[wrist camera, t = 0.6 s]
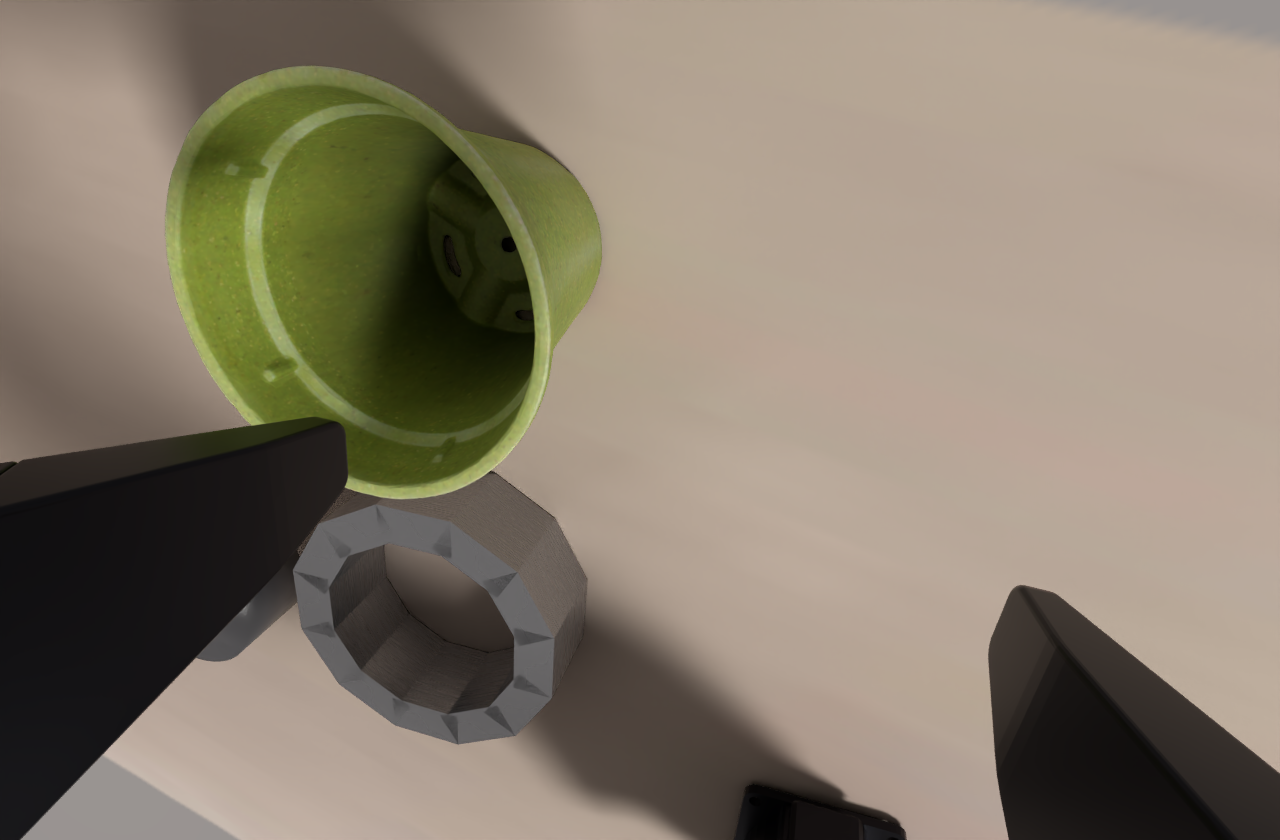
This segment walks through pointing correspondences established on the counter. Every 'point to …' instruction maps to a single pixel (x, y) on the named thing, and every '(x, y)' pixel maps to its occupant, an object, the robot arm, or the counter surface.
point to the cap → (255, 615)
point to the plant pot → (376, 271)
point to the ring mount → (413, 654)
